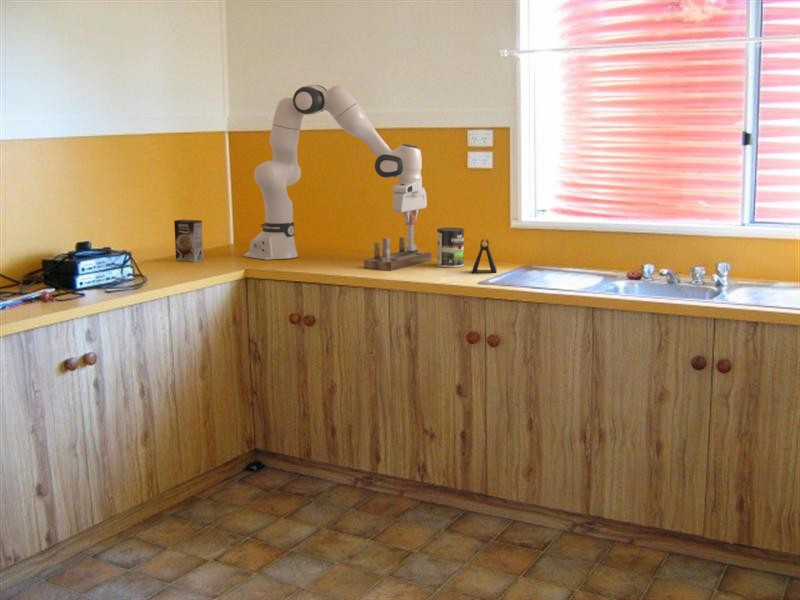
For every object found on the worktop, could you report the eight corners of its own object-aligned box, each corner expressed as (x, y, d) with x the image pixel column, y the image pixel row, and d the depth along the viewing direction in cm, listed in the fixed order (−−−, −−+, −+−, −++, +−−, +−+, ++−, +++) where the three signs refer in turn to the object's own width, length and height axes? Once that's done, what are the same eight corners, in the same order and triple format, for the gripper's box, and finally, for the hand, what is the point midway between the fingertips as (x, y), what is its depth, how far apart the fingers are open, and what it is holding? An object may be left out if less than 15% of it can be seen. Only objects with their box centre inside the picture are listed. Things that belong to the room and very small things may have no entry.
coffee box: (175, 261, 389) (173, 220, 386) (184, 258, 395) (182, 218, 392) (194, 262, 386) (193, 221, 383) (203, 260, 392) (202, 219, 389)
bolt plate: (364, 268, 371) (364, 239, 369) (405, 257, 396) (405, 230, 394) (391, 270, 365) (391, 241, 363) (431, 260, 390) (431, 232, 388)
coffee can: (469, 265, 376) (469, 229, 373) (450, 268, 370) (450, 231, 367) (450, 262, 384) (451, 226, 381) (431, 265, 377) (431, 228, 374)
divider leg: (404, 250, 386) (404, 214, 384) (409, 249, 390) (409, 213, 387) (411, 251, 385) (411, 215, 382) (416, 249, 388) (416, 214, 385)
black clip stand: (496, 271, 364) (497, 238, 362) (496, 273, 358) (496, 241, 356) (472, 270, 365) (472, 238, 363) (471, 273, 359) (471, 240, 357)
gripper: (417, 184, 393) (417, 218, 395) (389, 188, 376) (390, 224, 378) (430, 185, 389) (430, 219, 392) (403, 188, 372) (404, 225, 375)
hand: (410, 222), depth 385 cm, fingers closed on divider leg, 3 cm apart
